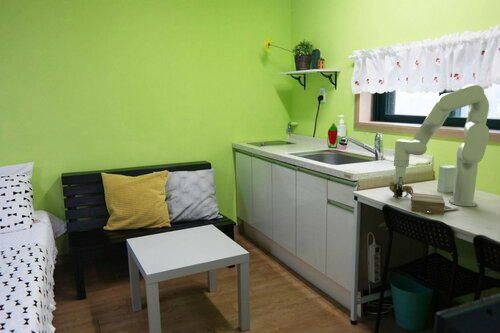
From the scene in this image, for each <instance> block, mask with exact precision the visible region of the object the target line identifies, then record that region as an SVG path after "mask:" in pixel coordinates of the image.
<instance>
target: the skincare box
mask: <svg viewBox="0 0 500 333" xmlns="http://www.w3.org/2000/svg"><path fill="white" fill-rule="evenodd" d="M455 173H456V165H453V164H449V165H448V164H447V165H439V167H438V174H437V175H438V177H437V185H436V186H437V188H436V190H437V192H441V193H443V194H444V193H445V194H447V193H453V191H454V182H455Z"/></svg>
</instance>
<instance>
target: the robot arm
mask: <svg viewBox="0 0 500 333" xmlns="http://www.w3.org/2000/svg"><path fill="white" fill-rule="evenodd" d="M467 106H468V111H467V116H466V122H465V124H464V128H463V135H464V136H465V138H464V142H463V143H461V144H460V145H459V146H458V148H457V151H456V165H455V166H456V173H455V182H454V191H453V192H452V197H451V198H449V199H448V202H449V203H450V204H452V205H456V206H459V207H476V206H477V205H478V203H477V201H476V200H474V199H475V192H476V184H477V176H478V169H479V168H478V166H479V163H480V162H481V161H483V158H484V156H485V154H486V150H487V146H488V141H489V138H490V129H489V127H488V126H487V121H488V115H489V111H490V102H489V99H488V97H487V95H486V94H485V90H484V88H483V86H482V85H479V84H472V83H471V84H467V85H465V86H463V88H460V89H458V90H454V91H452V92H448V93H442V94H441V95H439V96H438V98H437V99H436V100H435V102H434V104H433V106H432V107H431V109H430V110H429V113H428V114H427V116H426V118H425V119H424V121H423V122H422V124H421V126H420V127H419V128H418V129H417V132H416V134H415V135H414V136H413V138H412V140H411V141H410V140H408V139H397V140H396V141H395V143H394V145H395V146H394V156H393V166H394V175H393V181H394V184H395V185H396V184H397V189H396V196H395V197H398V198H403V194H404V192H403V186H405V182H406V174H407V168H408V167H409V166H410V155H413V156H423V155H425V153H426V152H427V151H428V150H427V149H428V148H427V144H428V143H429V141H430V139H431V138H432V136H433V135H435V133H436V132H437V131H439V130H440V129H441V128H442V126H444V125H443V124H444V123H445V121H446V120H447V119H448V117H449V115H450V113H451V112H453V111H456V110H458V109H461V108H464V107H467ZM398 185H399V186H398Z"/></svg>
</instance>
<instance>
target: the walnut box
mask: <svg viewBox="0 0 500 333" xmlns="http://www.w3.org/2000/svg"><path fill="white" fill-rule="evenodd" d="M411 197H412V198H411ZM411 197H410V199H411V201H410V210H411V212H414V213H415V212H416V213H421V214H422V213H424V214H427V213H426V212H427V211H429V212H431V213H430V214H432V215H440V216H444V214H445V207H446V202H445V199H444V197H443V195H438V194H431V193H430V194H427V193H419V192H418V193H417V192H413V193H412V196H411Z"/></svg>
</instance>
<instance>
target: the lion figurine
mask: <svg viewBox="0 0 500 333" xmlns="http://www.w3.org/2000/svg"><path fill="white" fill-rule="evenodd" d="M388 186H389V187H388V188H389V191H391V192H392V193H393V195H392V198H395V199H398V198H399V197H396V189H397V184H396V185H395V184H394V180H393V181H390V182H389V183H388ZM398 186H399V185H398ZM403 193H406V194H405V195H404V196H403V197H404V198H407V197H408V196H409V195H410V199H411V198H412V193H414V190H413V187H412V186H410V185H403Z"/></svg>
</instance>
